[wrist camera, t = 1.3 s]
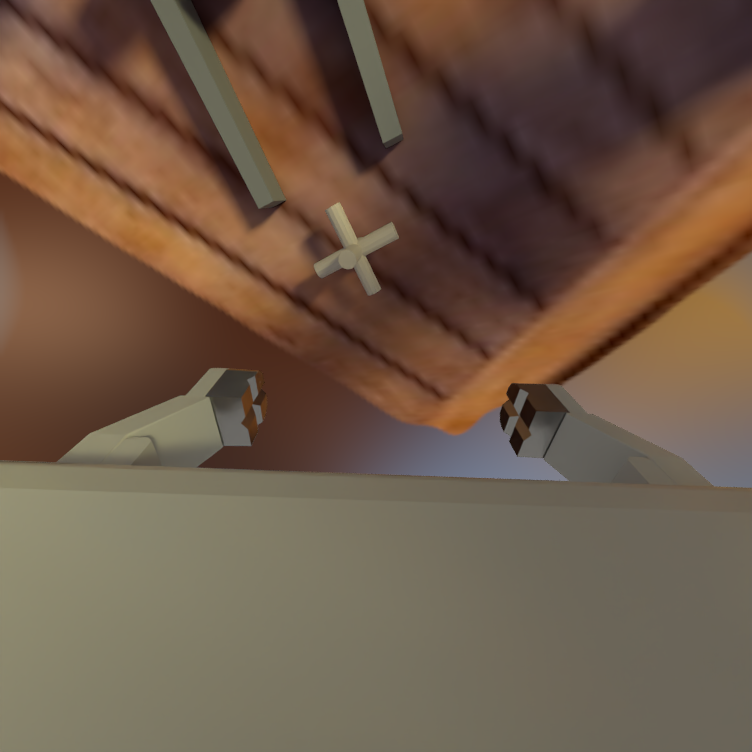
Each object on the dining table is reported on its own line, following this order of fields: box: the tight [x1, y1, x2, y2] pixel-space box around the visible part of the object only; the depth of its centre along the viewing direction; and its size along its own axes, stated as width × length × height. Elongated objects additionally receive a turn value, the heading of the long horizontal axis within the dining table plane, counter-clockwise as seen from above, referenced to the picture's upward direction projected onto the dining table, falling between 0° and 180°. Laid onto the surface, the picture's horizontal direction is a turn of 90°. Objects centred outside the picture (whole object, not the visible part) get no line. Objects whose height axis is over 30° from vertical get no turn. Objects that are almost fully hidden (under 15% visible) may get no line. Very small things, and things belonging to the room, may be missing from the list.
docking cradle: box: [150, 0, 403, 209], centre depth 26 cm, size 17×24×10 cm
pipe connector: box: [314, 202, 399, 296], centre depth 35 cm, size 10×10×10 cm
